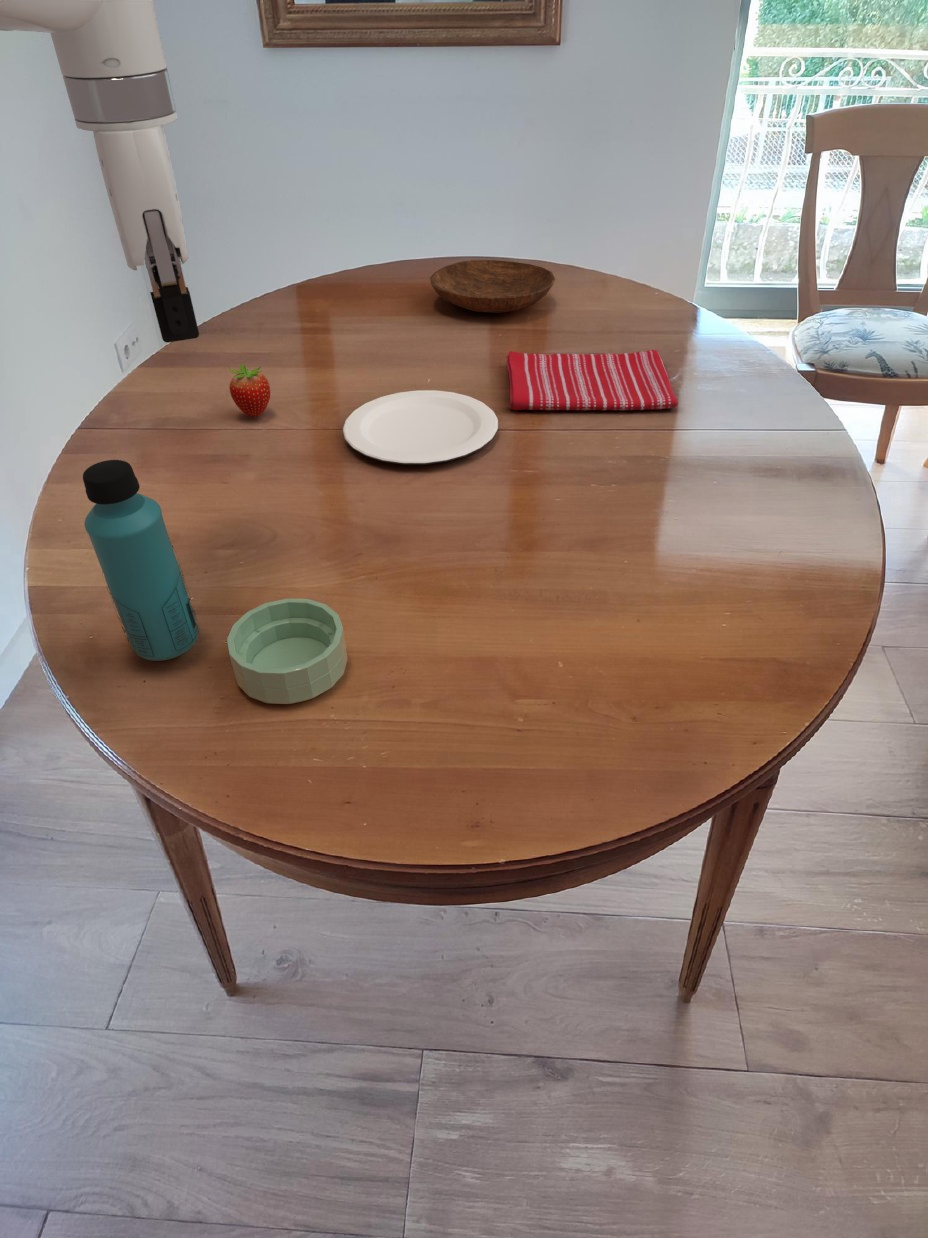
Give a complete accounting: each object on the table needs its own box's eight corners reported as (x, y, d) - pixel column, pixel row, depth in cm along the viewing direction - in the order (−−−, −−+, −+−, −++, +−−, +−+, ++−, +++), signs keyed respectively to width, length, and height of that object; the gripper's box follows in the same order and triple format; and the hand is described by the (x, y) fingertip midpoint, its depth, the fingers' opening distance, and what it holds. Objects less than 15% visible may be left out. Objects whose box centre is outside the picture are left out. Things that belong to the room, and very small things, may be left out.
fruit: (270, 406, 121) (260, 352, 116) (278, 421, 117) (268, 366, 112) (233, 414, 119) (221, 359, 114) (240, 429, 116) (228, 374, 111)
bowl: (457, 281, 160) (457, 254, 157) (568, 294, 153) (569, 266, 150) (412, 317, 146) (410, 288, 143) (531, 333, 139) (532, 303, 136)
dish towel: (506, 364, 130) (506, 347, 128) (660, 362, 129) (662, 346, 127) (506, 414, 117) (506, 397, 115) (677, 413, 116) (680, 395, 114)
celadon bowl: (244, 721, 73) (234, 684, 70) (231, 648, 81) (221, 612, 78) (358, 693, 76) (352, 656, 73) (335, 624, 83) (329, 588, 80)
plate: (415, 387, 125) (415, 376, 123) (529, 426, 114) (529, 415, 113) (311, 441, 112) (309, 429, 111) (427, 490, 102) (427, 478, 101)
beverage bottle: (214, 656, 80) (160, 472, 67) (146, 684, 77) (76, 498, 64) (190, 620, 84) (135, 440, 71) (124, 646, 81) (55, 464, 69)
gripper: (69, 90, 68) (132, 315, 80) (72, 121, 57) (144, 376, 69) (163, 83, 70) (211, 304, 82) (183, 111, 59) (235, 361, 71)
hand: (180, 336), depth 76 cm, fingers closed
